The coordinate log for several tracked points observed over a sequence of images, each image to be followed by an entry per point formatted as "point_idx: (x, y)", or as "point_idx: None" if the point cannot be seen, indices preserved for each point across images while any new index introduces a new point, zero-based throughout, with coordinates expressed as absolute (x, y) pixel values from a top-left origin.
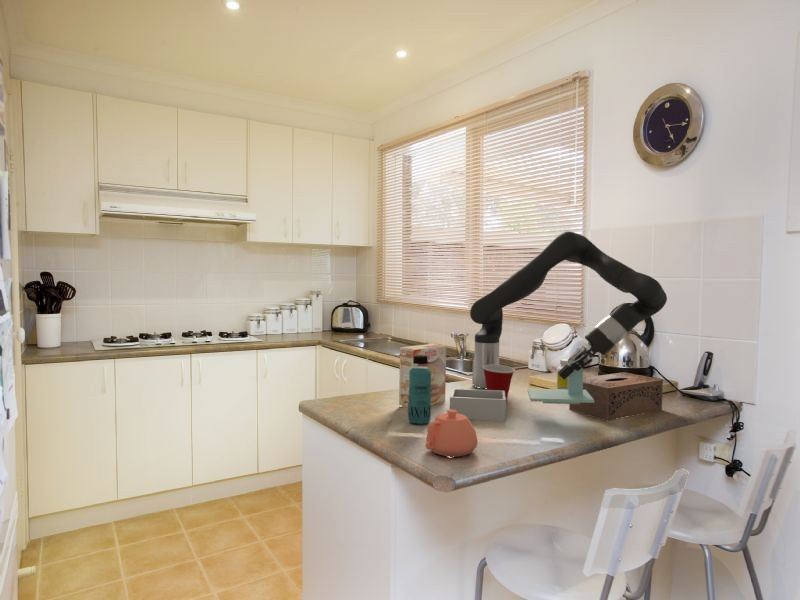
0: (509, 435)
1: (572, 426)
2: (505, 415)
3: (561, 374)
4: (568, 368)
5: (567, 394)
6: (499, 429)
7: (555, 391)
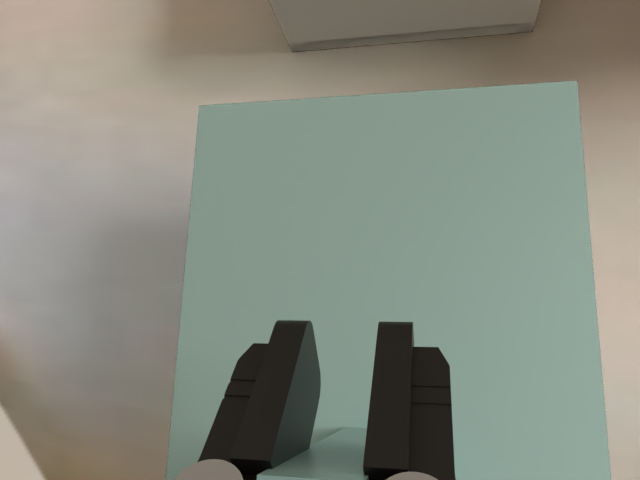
0: (110, 80)
1: None
2: (280, 23)
3: (252, 344)
4: (203, 449)
5: (357, 419)
6: (197, 31)
7: (483, 324)
